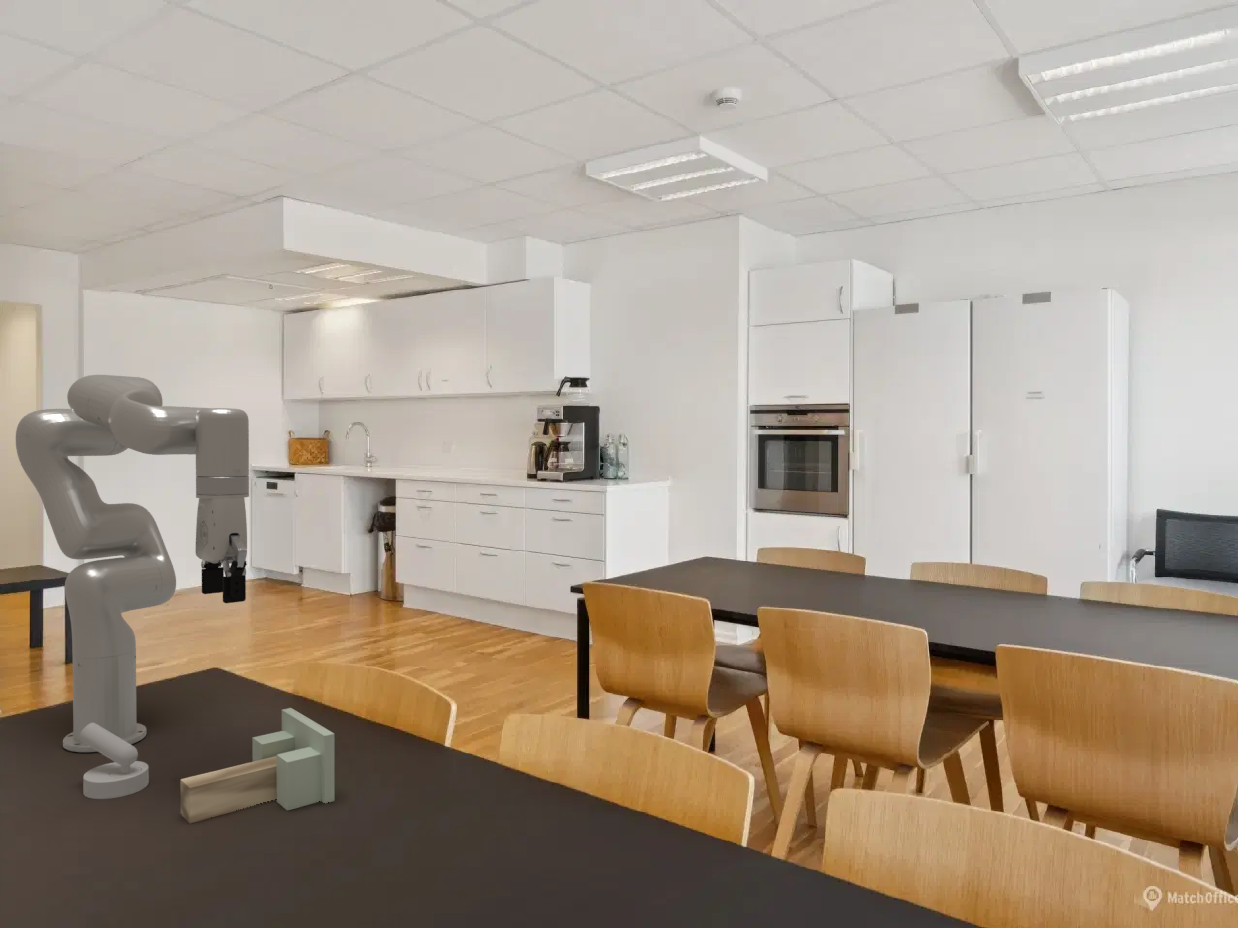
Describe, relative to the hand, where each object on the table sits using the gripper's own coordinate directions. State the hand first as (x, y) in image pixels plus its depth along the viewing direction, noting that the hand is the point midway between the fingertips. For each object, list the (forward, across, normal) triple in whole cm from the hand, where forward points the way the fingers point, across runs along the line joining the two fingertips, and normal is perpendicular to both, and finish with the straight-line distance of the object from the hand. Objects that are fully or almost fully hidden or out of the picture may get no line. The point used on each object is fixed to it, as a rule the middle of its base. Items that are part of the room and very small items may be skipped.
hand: (223, 597), depth 137 cm
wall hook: (+29, -7, -14) cm, 33 cm away
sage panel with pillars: (+28, +12, +5) cm, 31 cm away
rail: (+28, +12, -1) cm, 31 cm away
